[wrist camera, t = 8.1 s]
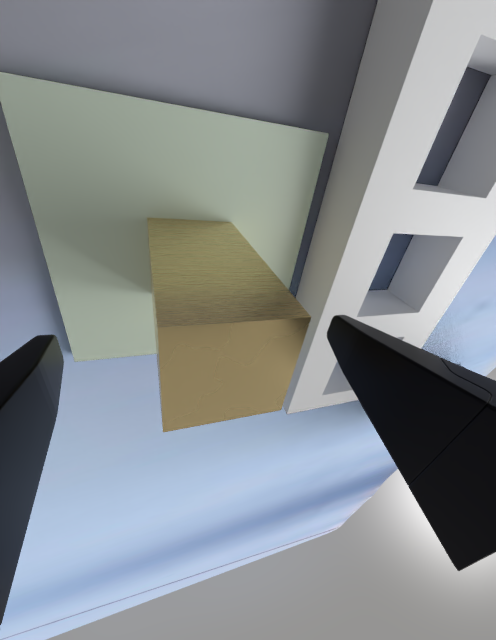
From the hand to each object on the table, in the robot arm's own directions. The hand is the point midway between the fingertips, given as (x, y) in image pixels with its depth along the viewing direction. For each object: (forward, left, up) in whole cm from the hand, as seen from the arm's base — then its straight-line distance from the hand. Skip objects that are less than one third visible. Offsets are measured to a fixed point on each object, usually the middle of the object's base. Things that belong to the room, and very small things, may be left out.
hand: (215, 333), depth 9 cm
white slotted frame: (0, -12, -7) cm, 14 cm away
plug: (0, 0, -6) cm, 6 cm away
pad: (0, 0, -7) cm, 7 cm away
